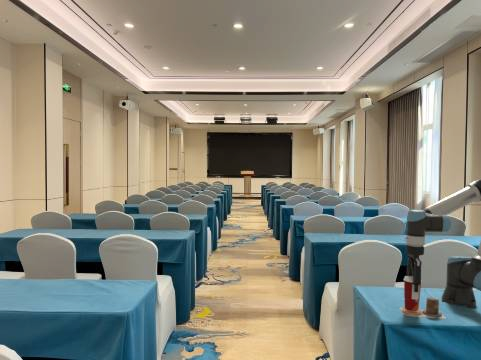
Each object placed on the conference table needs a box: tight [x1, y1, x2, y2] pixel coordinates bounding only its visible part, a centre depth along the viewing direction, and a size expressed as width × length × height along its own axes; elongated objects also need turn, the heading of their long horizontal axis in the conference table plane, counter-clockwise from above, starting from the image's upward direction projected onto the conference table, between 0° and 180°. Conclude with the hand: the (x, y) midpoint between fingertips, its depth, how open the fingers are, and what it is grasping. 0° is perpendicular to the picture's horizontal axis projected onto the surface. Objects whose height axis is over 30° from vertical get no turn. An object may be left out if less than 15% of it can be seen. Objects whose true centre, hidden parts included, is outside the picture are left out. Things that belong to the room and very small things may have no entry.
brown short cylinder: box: [425, 297, 440, 315], centre depth 196 cm, size 5×5×6 cm
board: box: [399, 307, 447, 320], centre depth 197 cm, size 17×11×1 cm, turn 83°
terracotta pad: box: [401, 307, 422, 315], centre depth 197 cm, size 8×8×1 cm
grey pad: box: [422, 309, 443, 317], centre depth 196 cm, size 8×8×1 cm
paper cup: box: [402, 275, 423, 311], centre depth 197 cm, size 8×8×14 cm
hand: (412, 296), depth 197 cm, fingers closed on paper cup, 8 cm apart
